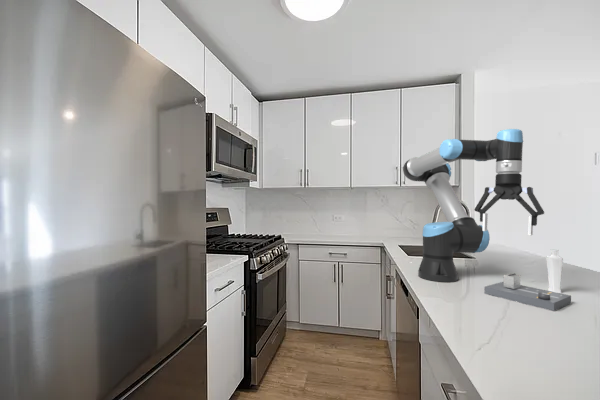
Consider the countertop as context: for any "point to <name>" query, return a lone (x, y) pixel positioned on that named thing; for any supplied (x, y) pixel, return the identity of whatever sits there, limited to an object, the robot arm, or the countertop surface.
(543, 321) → the countertop surface
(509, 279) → the fader
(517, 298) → the console
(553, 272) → the perfume bottle
